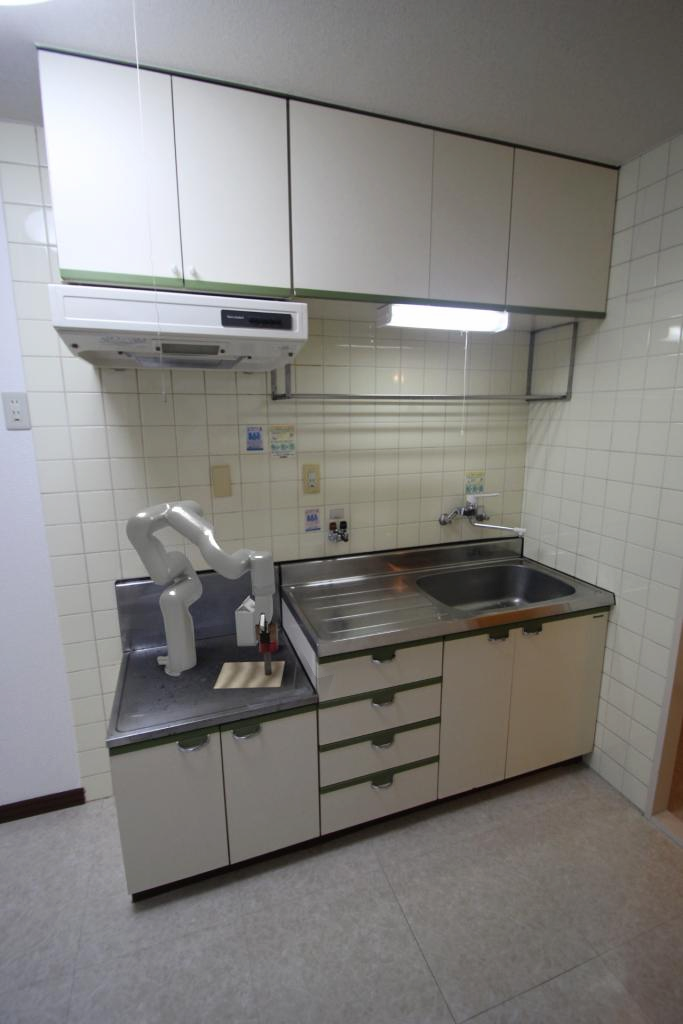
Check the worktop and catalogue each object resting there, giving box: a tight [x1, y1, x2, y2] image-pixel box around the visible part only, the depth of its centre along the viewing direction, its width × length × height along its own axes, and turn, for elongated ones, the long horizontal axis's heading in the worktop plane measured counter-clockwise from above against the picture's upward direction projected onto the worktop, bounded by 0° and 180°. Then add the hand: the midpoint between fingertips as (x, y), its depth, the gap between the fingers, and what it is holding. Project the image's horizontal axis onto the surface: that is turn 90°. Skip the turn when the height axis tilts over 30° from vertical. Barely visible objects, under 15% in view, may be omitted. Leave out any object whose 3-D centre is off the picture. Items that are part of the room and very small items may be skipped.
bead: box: [255, 618, 278, 642], centre depth 159 cm, size 7×7×5 cm
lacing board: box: [213, 652, 286, 690], centre depth 161 cm, size 22×16×9 cm
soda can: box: [258, 622, 279, 655], centre depth 178 cm, size 7×7×12 cm
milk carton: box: [234, 595, 259, 647], centre depth 185 cm, size 7×7×19 cm
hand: (266, 637), depth 159 cm, fingers closed on bead, 6 cm apart
